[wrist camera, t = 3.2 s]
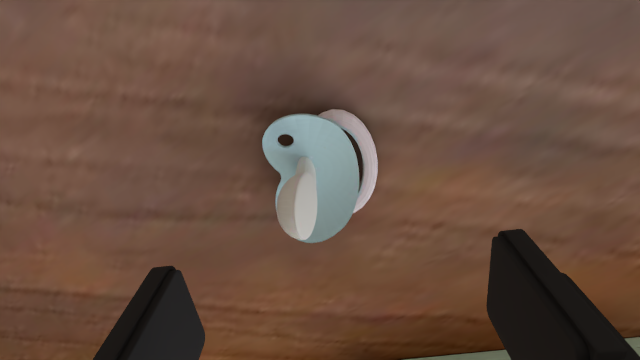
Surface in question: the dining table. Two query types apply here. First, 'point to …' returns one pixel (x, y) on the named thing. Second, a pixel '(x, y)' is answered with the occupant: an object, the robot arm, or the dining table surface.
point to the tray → (501, 357)
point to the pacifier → (320, 172)
